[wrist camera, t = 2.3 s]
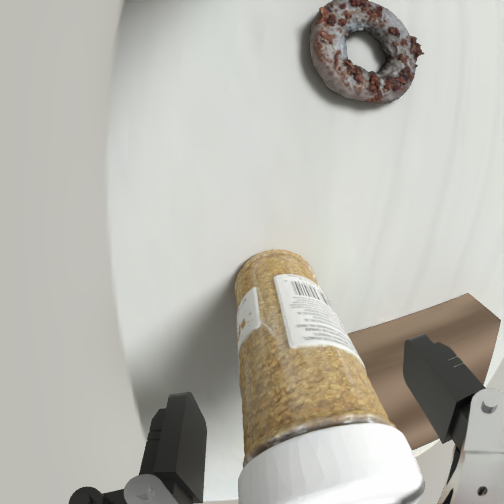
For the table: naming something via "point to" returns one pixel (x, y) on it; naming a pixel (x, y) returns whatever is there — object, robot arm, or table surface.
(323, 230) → the table surface
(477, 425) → the robot arm
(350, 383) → the sprinkles bottle
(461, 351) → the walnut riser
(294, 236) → the table surface
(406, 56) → the donut
